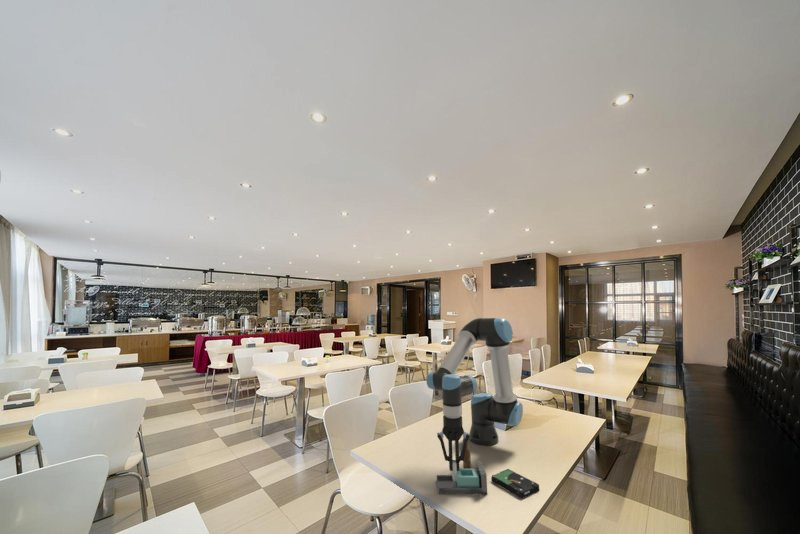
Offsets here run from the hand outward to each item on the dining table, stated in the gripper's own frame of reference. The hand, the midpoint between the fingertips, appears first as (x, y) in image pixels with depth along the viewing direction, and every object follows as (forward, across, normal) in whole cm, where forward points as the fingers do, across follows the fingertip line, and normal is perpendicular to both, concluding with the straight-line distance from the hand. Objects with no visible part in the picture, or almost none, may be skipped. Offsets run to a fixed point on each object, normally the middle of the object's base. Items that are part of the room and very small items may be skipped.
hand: (454, 479), depth 123 cm
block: (+2, -5, 0) cm, 5 cm away
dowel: (+3, -6, -9) cm, 11 cm away
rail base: (+3, -2, 0) cm, 4 cm away
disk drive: (+3, -23, -1) cm, 24 cm away
